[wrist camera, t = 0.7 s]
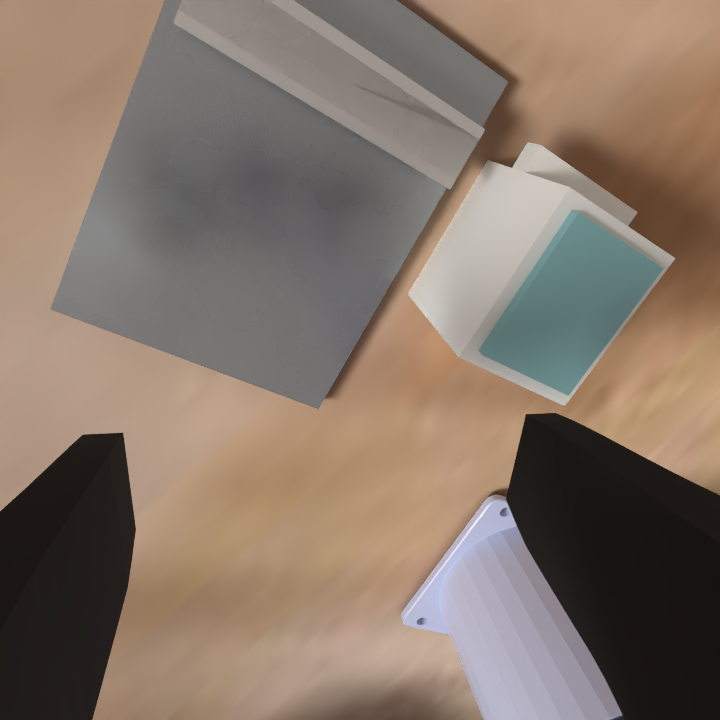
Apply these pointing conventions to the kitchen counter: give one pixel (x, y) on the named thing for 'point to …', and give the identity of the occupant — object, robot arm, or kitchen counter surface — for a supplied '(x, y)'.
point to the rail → (337, 80)
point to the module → (537, 274)
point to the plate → (258, 206)
